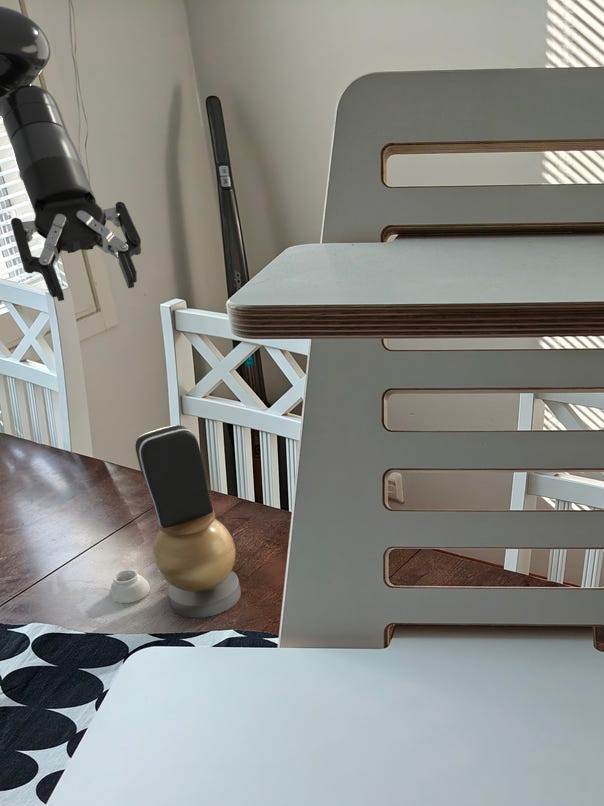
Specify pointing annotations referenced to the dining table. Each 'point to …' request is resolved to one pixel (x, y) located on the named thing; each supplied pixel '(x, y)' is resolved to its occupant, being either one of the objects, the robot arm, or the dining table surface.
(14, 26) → the robot arm
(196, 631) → the dining table surface
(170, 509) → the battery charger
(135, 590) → the lidless jar
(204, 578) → the lidded jar
